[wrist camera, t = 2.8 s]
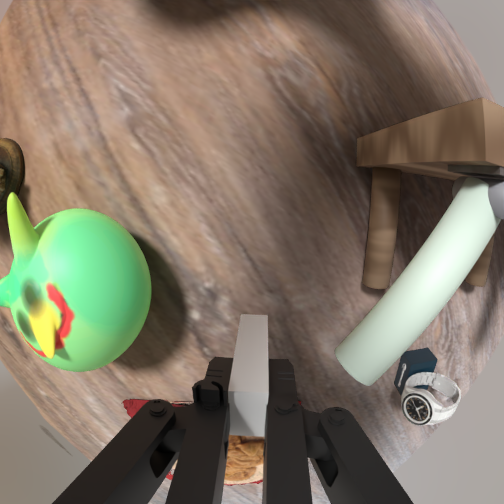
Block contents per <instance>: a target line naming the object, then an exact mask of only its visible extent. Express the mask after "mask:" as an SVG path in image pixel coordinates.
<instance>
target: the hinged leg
mask: <svg viewBox="0 0 504 504" xmlns="http://www.w3.org/2000/svg"><path fill="white" fill-rule="evenodd" d="M452 197H453V201H452V203H451V204H450V206H449V208H448V209H447V211H446V212H445V214H444V215H443V217H442V218H441V220H440V221H439V223H438V224H437V226H436V227H435V229H434V230H433V231H432V233H431V234H430V236H429V237H428V239H427V240H426V241H425V243H424V244H423V246H422V247H421V248H420V250H419V251H418V252H417V254H416V255H415V256H414V258H413V259H412V260H411V262H410V263H409V264H408V266H407V267H406V268H405V270H404V271H403V272H402V273H401V275H400V276H399V277H398V279H397V280H396V281H395V282H394V283H393V285H392V286H391V287H390V288H389V290H388V291H387V292H386V293H385V294H384V296H383V297H382V298H381V299H380V300H379V302H378V303H377V304H376V305H375V306H374V307H373V309H372V310H371V311H370V312H369V313H368V314H367V315H366V317H365V318H364V319H363V320H362V321H361V322H360V323H359V324H358V325H357V326H356V328H355V329H354V330H353V331H352V332H351V333H350V334H349V335H348V336H347V337H346V338H345V339H344V340H343V341H342V343H341V344H340V345H339V346H338V347H337V348H336V349H335V355H336V357H337V359H338V361H339V362H340V364H341V365H342V366H343V367H344V369H345V370H346V371H347V372H348V373H349V374H350V375H351V376H352V377H353V378H355V379H356V380H357V381H359V382H360V383H362V384H364V385H367V386H371V385H372V384H373V383H374V382H375V381H376V380H377V379H379V378H380V377H381V376H382V375H383V374H384V373H385V372H386V371H387V370H388V369H389V368H390V367H391V366H392V365H393V364H394V363H395V362H396V361H397V360H398V359H399V358H400V357H401V356H402V354H403V353H404V352H405V351H406V350H407V349H408V348H409V347H410V346H411V345H412V344H413V343H414V341H415V340H416V339H417V338H418V337H419V336H420V335H421V334H422V332H423V331H424V330H425V329H426V328H427V327H428V325H429V324H430V323H431V322H432V321H433V319H434V318H435V317H436V316H437V315H438V313H439V312H440V311H441V310H442V308H443V307H444V306H445V305H446V303H447V302H448V301H449V299H450V298H451V297H452V295H453V294H454V293H455V291H456V290H457V289H458V287H459V286H460V284H461V283H462V282H463V280H464V279H465V277H466V276H467V275H468V273H469V272H470V270H471V269H472V267H473V266H474V264H475V263H476V261H477V260H478V258H479V257H480V255H481V253H482V252H483V250H484V249H485V247H486V245H487V244H488V242H489V240H490V239H491V237H492V235H493V234H494V232H495V230H496V228H497V227H498V225H499V223H500V221H501V219H504V180H501V179H491V178H480V177H467V176H461V177H458V178H457V179H456V180H455V182H454V184H453V187H452Z"/></svg>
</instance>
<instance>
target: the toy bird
mask: <svg viewBox="0 0 504 504" xmlns="http://www.w3.org/2000/svg"><path fill="white" fill-rule="evenodd" d="M7 216H8V224H9V231H10V237H11V242H12V248H13V253H14V260H13V263H12V267H11V271H10V274H8V275H7V276H5V277H4V278H2V279H1V280H0V306H2V307H7V308H11V312H12V315H13V318H14V321H15V324H16V326H17V328H18V330H19V332H20V334H21V336H22V338H23V339H24V341H25V342H26V343H27V345H28V346H29V347H30V348H31V349H32V350H33V351H34V352H35V353H36V354H37V355H38V356H39V357H40V358H42V359H43V360H44V361H46V362H47V363H49V364H51V365H53V366H55V367H57V368H60V369H63V370H67V371H73V372H84V371H91V370H95V369H98V368H101V367H103V366H105V365H107V364H109V363H111V362H112V361H114V360H115V359H117V358H118V357H119V356H120V355H121V354H123V353H124V352H125V351H126V350H127V349H128V348H129V346H130V345H131V344H132V343H133V342H134V340H135V339H136V337H137V336H138V334H139V332H140V331H141V329H142V327H143V325H144V322H145V320H146V317H147V314H148V311H149V307H150V301H151V278H150V273H149V268H148V265H147V262H146V259H145V257H144V255H143V253H142V251H141V249H140V247H139V245H138V244H137V242H136V241H135V239H134V238H133V237H132V236H131V234H130V233H129V232H128V231H127V230H126V229H125V228H124V227H123V226H122V225H120V224H119V223H118V222H116V221H115V220H113V219H112V218H110V217H108V216H106V215H104V214H102V213H100V212H97V211H93V210H89V209H68V210H64V211H61V212H58V213H55V214H53V215H51V216H49V217H48V218H46V219H45V220H43V221H42V222H40V223H39V224H38V225H37V226H36V227H35V228H33V226H32V224H31V222H30V220H29V218H28V216H27V214H26V212H25V210H24V208H23V206H22V204H21V202H20V200H19V199H18V197H17V196H16V194H15V193H13V192H12V193H10V195H9V197H8V200H7Z"/></svg>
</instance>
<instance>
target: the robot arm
mask: <svg viewBox="0 0 504 504" xmlns="http://www.w3.org/2000/svg"><path fill="white" fill-rule="evenodd" d="M192 390H193V399H194V403H192V404H190V405H187V406H181V407H174V406H173V405H172V404H171V403H170V402H168V401H166V400H161V399H155V400H151V401H148V402H147V403H145V404H144V405H143V406H142V407H141V408H140V409H139V411H138V412H137V413H136V414H135V415H134V416H133V417H132V418H131V419H130V420H129V422H128V423H127V424H126V425H125V426H124V427H123V428H122V429H121V430H120V431H119V433H118V434H117V435H116V436H115V437H114V438H113V439H112V440H111V441H110V442H109V443H108V445H107V446H106V447H105V448H104V449H103V450H102V451H101V452H100V453H99V454H98V455H97V456H96V458H95V459H94V460H93V461H92V462H91V463H90V464H89V465H88V466H87V467H86V468H85V469H84V470H83V471H82V473H81V474H80V475H79V476H78V477H77V478H76V479H75V480H74V481H73V482H72V483H71V484H70V485H69V486H68V487H67V489H66V490H65V491H64V492H63V493H62V494H61V495H60V496H59V497H58V498H57V499H56V500H55V501H54V502H53V503H52V504H148V502H149V501H150V499H151V498H152V497H153V495H154V494H155V492H156V491H157V489H158V488H159V486H160V485H161V483H162V482H163V480H164V479H165V477H166V476H167V474H168V473H169V471H170V470H171V468H172V467H173V465H174V464H175V462H176V461H177V464H176V467H175V471H174V474H173V478H172V481H171V485H170V489H169V492H168V496H167V499H166V503H165V504H221V501H222V494H223V486H224V478H225V471H226V463H227V455H228V448H229V434H230V435H240V436H262V437H264V449H263V456H264V458H263V496H262V504H312V494H311V485H310V476H309V467H308V458H310V460H311V463H312V465H313V467H314V469H315V471H316V473H317V475H318V478H319V480H320V482H321V484H322V486H323V488H324V490H325V492H326V494H327V496H328V498H329V501H330V503H331V504H413V502H412V501H411V499H410V498H409V496H408V495H407V493H406V492H405V491H404V489H403V488H402V486H401V485H400V483H399V482H398V480H397V479H396V478H395V476H394V475H393V473H392V472H391V470H390V469H389V468H388V466H387V465H386V463H385V462H384V460H383V459H382V457H381V456H380V454H379V453H378V452H377V450H376V449H375V447H374V446H373V444H372V443H371V441H370V440H369V438H368V437H367V436H366V434H365V433H364V431H363V430H362V428H361V427H360V425H359V424H358V422H357V421H356V419H355V418H354V417H353V415H352V414H351V413H350V412H349V411H348V410H346V409H343V408H339V407H333V408H328V409H326V410H324V411H323V412H322V413H321V414H320V413H315V412H311V411H308V410H306V409H304V408H303V407H302V406H301V405H300V404H299V403H298V400H297V392H296V384H295V376H294V369H293V365H292V364H291V362H290V361H289V360H288V359H268V315H251V314H241V317H240V323H239V329H238V335H237V341H236V347H235V353H234V358H224V357H215V358H214V359H212V360H211V361H210V362H209V365H208V369H207V372H206V376H205V379H204V380H201V381H198V382H197V383H195V384H194V386H193V387H192ZM307 457H308V458H307ZM177 459H178V460H177Z"/></svg>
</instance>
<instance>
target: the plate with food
mask: <svg viewBox="0 0 504 504" xmlns="http://www.w3.org/2000/svg"><path fill="white" fill-rule="evenodd" d="M148 401H149V400H137V399H130V400H128V399H126V400H124V401H123V403H124V408H125V409H126V410H127V414H128V415H129V416H130V417H131V418H132V417H133V416H134V415H135V414H136V413H137V412H138V411H139V409H140V408H141V407H142V406H143V405H144V404H145V403H147V402H148ZM166 401H167V400H166ZM170 403H171V404H172V405H173V406H174V407H181V406H184V405H183V404H185V403H192V402H173V401H171V402H170ZM298 403H299V404H300V405H301V401H298ZM176 404H178V405H176ZM263 449H264V437H262V436H240V435H230V434H229V448H228V455H227V463H226V471H225V478H224V484H225V485H228V486H229V485H230V486H232V485H236V484H241V485H243V484H246V483H257V484H259V483H260V482H263V458H264V456H263ZM177 460H178V459H177ZM176 464H177V461H176V462H175V464H174V465H173V467H172V468H173V469H174V470H175V467H176ZM171 471H172V470H171ZM170 473H171V472H169V473H168V474H167V476H166V478H168V479H169V480H171V479H172V478H173V475H171V474H170ZM169 474H170V475H169ZM256 481H258V482H256Z"/></svg>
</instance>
